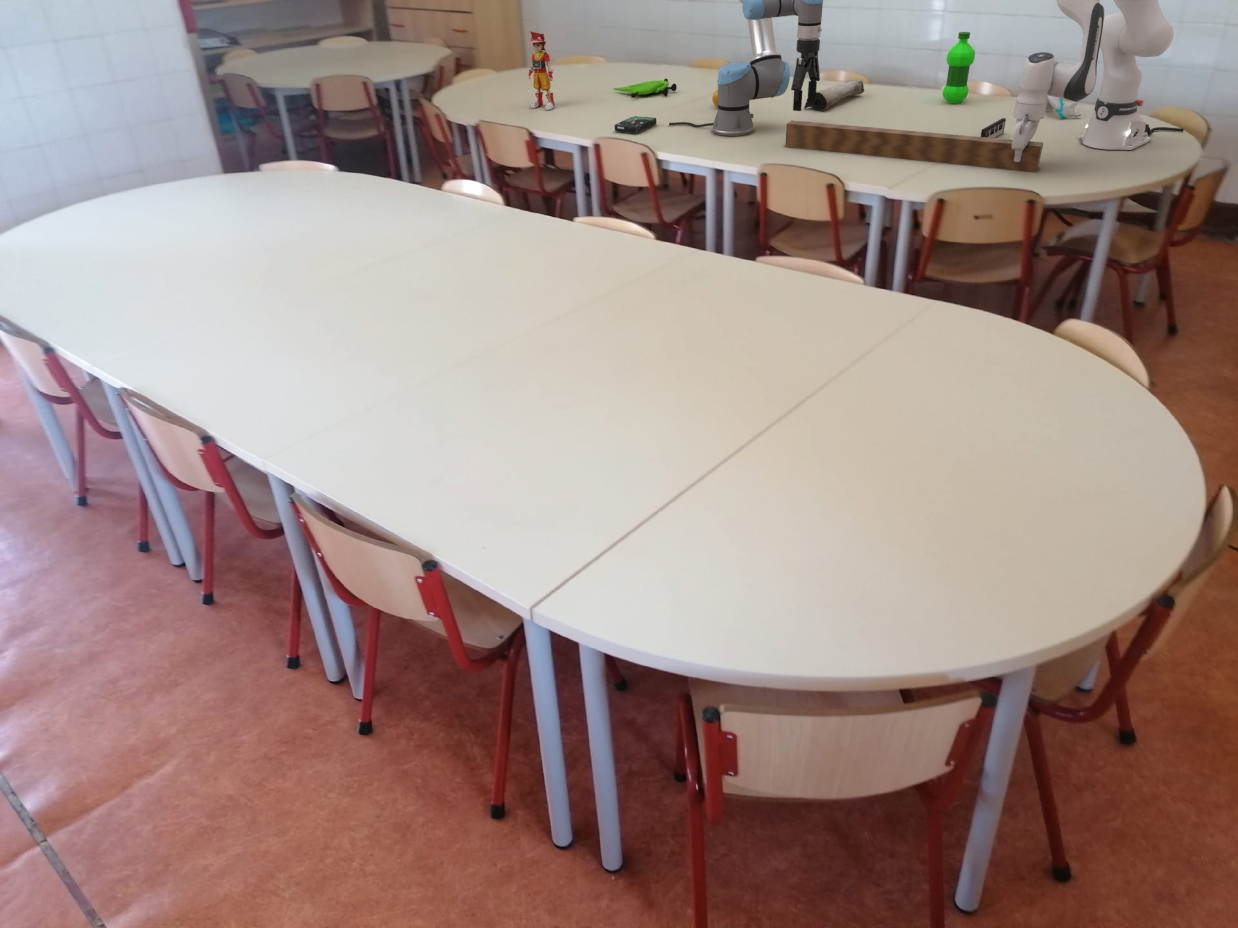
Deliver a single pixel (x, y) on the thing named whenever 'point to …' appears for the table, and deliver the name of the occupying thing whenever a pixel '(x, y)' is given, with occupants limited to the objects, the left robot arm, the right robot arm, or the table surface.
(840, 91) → the rolled mat
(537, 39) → the toy
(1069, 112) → the anatomical model
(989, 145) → the bar
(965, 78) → the plastic bottle
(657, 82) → the toy
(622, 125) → the disk drive
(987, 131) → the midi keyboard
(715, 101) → the fruit
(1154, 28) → the right robot arm
